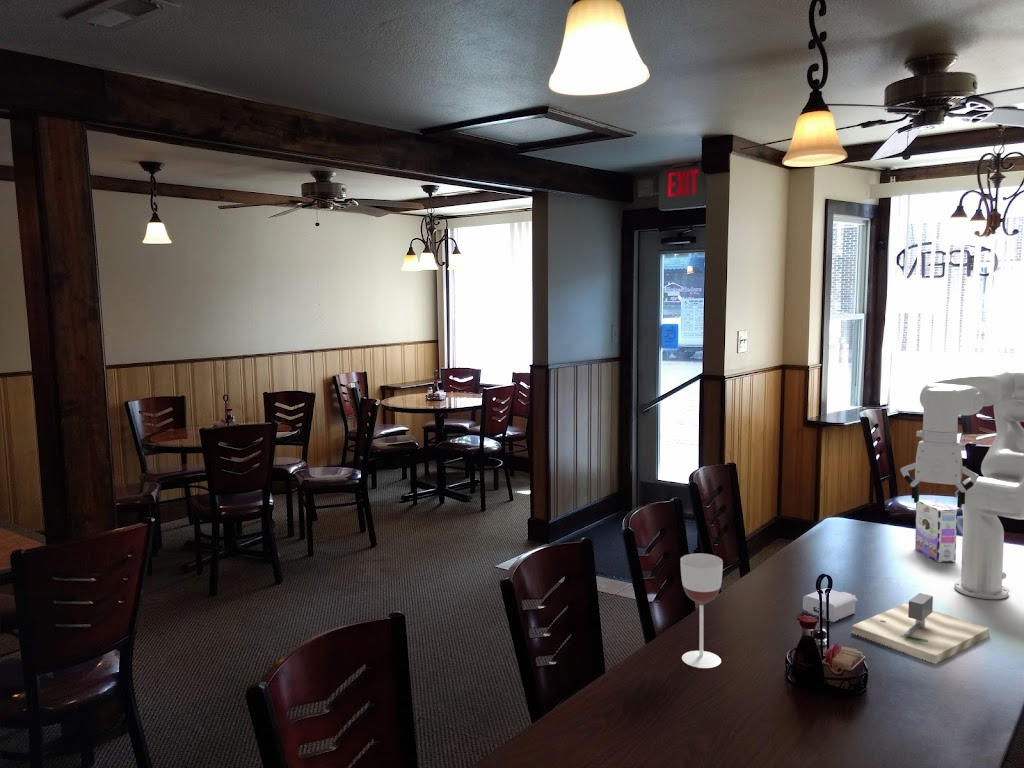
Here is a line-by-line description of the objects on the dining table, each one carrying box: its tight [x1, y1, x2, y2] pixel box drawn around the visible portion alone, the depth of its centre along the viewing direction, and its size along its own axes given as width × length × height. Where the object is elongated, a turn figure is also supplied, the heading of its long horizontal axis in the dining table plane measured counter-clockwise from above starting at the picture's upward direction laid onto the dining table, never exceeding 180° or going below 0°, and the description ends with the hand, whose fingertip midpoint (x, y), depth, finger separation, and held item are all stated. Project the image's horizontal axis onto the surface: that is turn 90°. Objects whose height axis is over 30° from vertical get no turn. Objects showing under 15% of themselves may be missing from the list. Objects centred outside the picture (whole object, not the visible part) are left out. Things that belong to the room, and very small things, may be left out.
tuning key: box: [904, 592, 934, 637], centre depth 181 cm, size 12×3×7 cm, turn 134°
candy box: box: [914, 498, 958, 563], centre depth 239 cm, size 14×6×16 cm, turn 179°
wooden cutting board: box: [851, 602, 990, 665], centre depth 184 cm, size 24×20×2 cm
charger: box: [802, 587, 859, 623], centre depth 200 cm, size 5×9×15 cm
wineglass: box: [680, 552, 724, 669], centre depth 173 cm, size 9×10×23 cm
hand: (937, 504), depth 194 cm, fingers open, 9 cm apart
